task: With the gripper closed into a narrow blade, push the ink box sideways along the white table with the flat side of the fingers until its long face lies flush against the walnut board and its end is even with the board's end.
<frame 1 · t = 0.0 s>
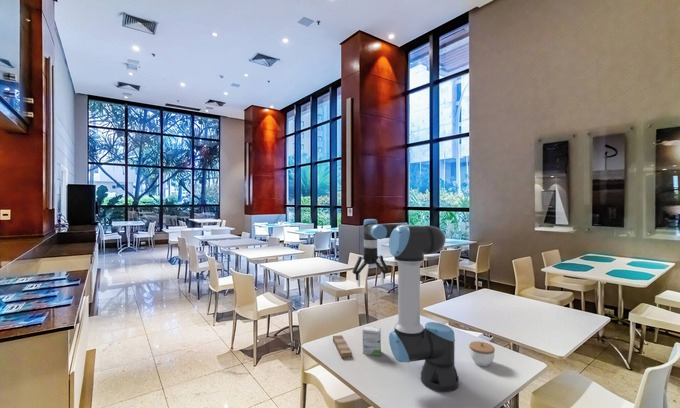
hand: (370, 285, 177), 28 cm above the table, fingers open, 13 cm apart
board: (341, 348, 162), on the table
lidded jar: (481, 363, 148), on the table
ink box: (371, 352, 158), on the table
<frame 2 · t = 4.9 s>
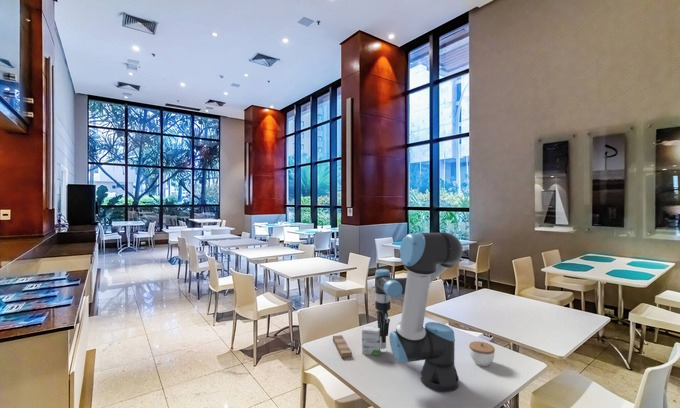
hand: (382, 347, 160), 2 cm above the table, fingers closed
ink box: (371, 352, 158), on the table, touching gripper
everything else where it was.
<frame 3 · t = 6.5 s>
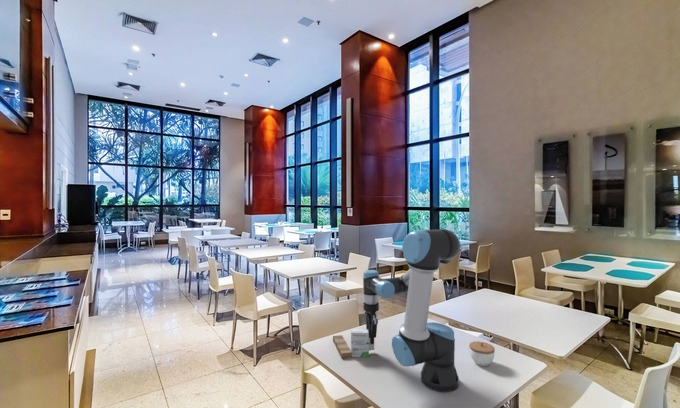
hand: (371, 349, 158), 1 cm above the table, fingers closed
ink box: (360, 355, 156), on the table, touching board, gripper
everything else where it was.
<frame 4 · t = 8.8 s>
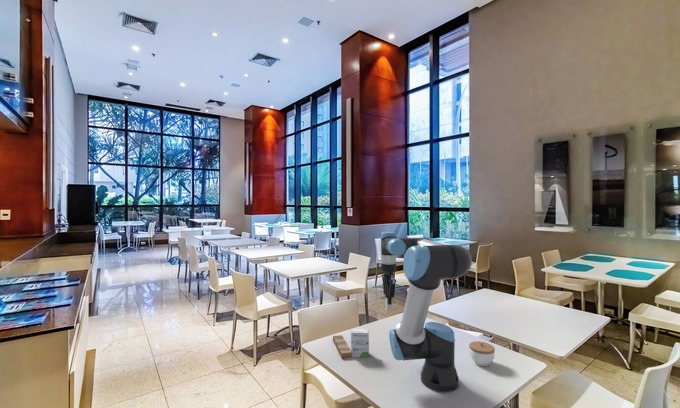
hand: (388, 310, 159), 20 cm above the table, fingers closed
ink box: (360, 355, 156), on the table
everything else where it was.
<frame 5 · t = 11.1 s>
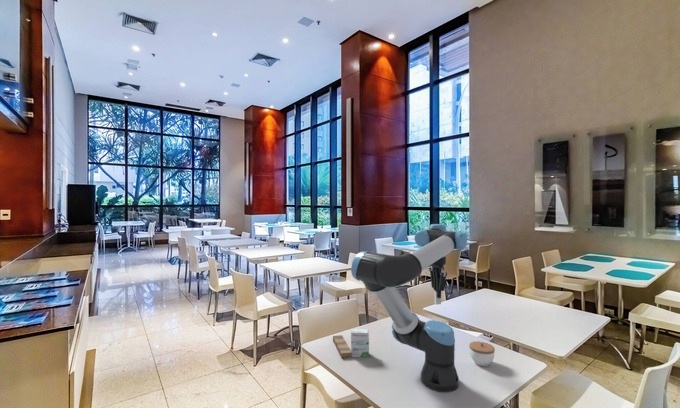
hand: (437, 303, 157), 24 cm above the table, fingers closed
nothing on the table moved.
at the end: ink box 0.8 cm from the target spot on the table beside the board, on the table; ink box tilted 0°; ink box moved 6.4 cm from its start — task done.
